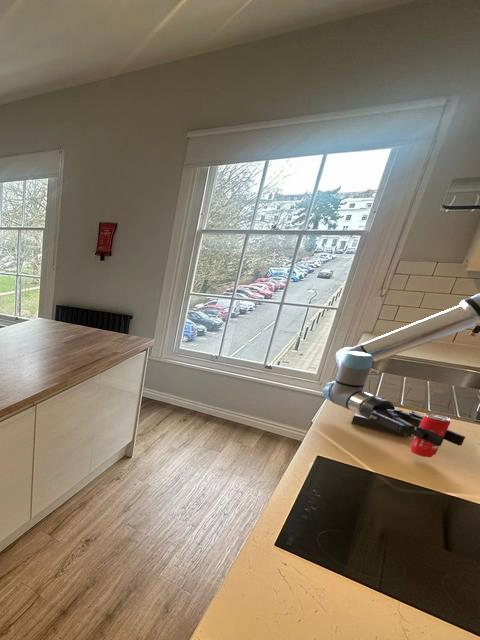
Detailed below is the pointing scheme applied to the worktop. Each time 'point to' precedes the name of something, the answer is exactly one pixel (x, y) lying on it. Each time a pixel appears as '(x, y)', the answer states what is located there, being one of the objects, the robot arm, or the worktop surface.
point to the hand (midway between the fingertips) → (451, 441)
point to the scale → (373, 424)
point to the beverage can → (431, 424)
